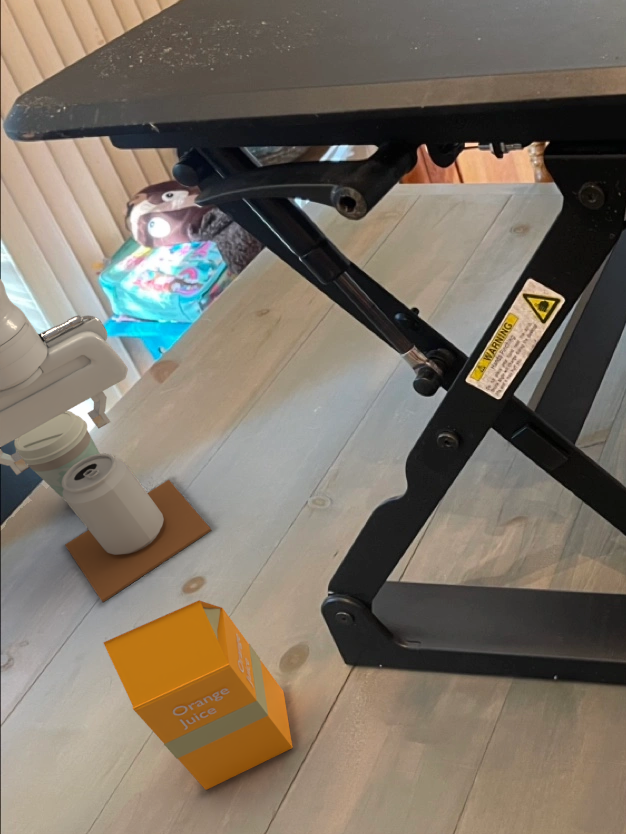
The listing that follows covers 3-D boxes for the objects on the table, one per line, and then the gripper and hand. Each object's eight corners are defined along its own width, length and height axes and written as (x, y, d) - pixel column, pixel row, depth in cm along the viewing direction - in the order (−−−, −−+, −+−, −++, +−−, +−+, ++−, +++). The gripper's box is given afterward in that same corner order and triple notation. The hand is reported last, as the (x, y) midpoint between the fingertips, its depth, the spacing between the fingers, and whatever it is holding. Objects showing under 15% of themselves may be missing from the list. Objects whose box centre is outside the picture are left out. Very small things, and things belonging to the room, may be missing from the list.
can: (144, 506, 139) (96, 441, 131) (178, 523, 135) (131, 457, 128) (94, 548, 134) (42, 483, 127) (128, 566, 130) (77, 501, 123)
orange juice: (293, 748, 107) (202, 629, 95) (205, 791, 105) (100, 675, 92) (284, 689, 113) (197, 570, 100) (199, 729, 111) (101, 612, 98)
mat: (103, 602, 127) (101, 600, 127) (66, 546, 136) (64, 544, 135) (211, 530, 134) (210, 528, 134) (170, 481, 142) (168, 479, 142)
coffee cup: (46, 515, 141) (-6, 452, 134) (89, 468, 147) (41, 405, 140) (97, 520, 139) (47, 456, 131) (139, 472, 145) (93, 408, 138)
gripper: (83, 298, 123) (139, 387, 131) (-109, 394, 113) (-34, 484, 121) (101, 317, 119) (158, 408, 127) (-96, 418, 109) (-20, 509, 117)
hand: (63, 446), depth 124 cm, fingers open, 8 cm apart
